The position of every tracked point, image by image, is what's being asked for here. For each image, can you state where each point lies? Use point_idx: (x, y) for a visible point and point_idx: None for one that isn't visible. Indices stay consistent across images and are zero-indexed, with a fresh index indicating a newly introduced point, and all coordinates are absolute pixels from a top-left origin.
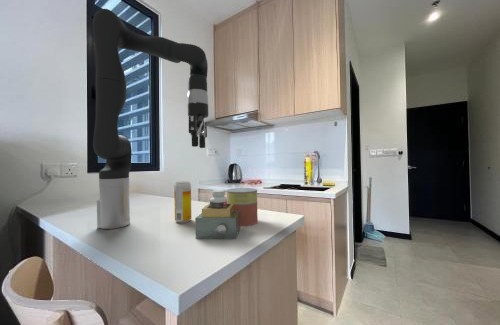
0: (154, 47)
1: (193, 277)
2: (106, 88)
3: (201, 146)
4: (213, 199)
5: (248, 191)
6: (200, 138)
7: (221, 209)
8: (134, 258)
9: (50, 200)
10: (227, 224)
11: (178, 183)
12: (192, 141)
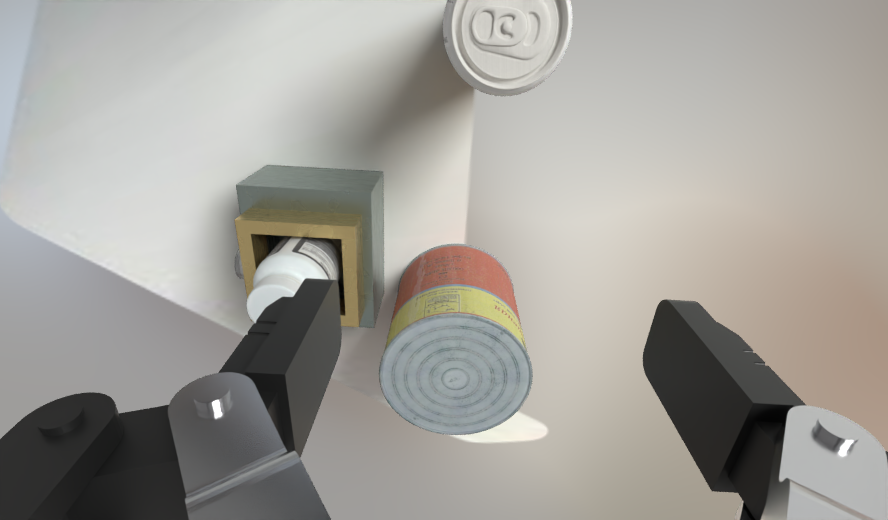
0: None
1: (50, 223)
2: None
3: (662, 334)
4: (256, 276)
5: (403, 404)
6: (757, 425)
7: (247, 292)
8: (74, 20)
9: None
10: None
11: (453, 11)
12: (255, 328)
